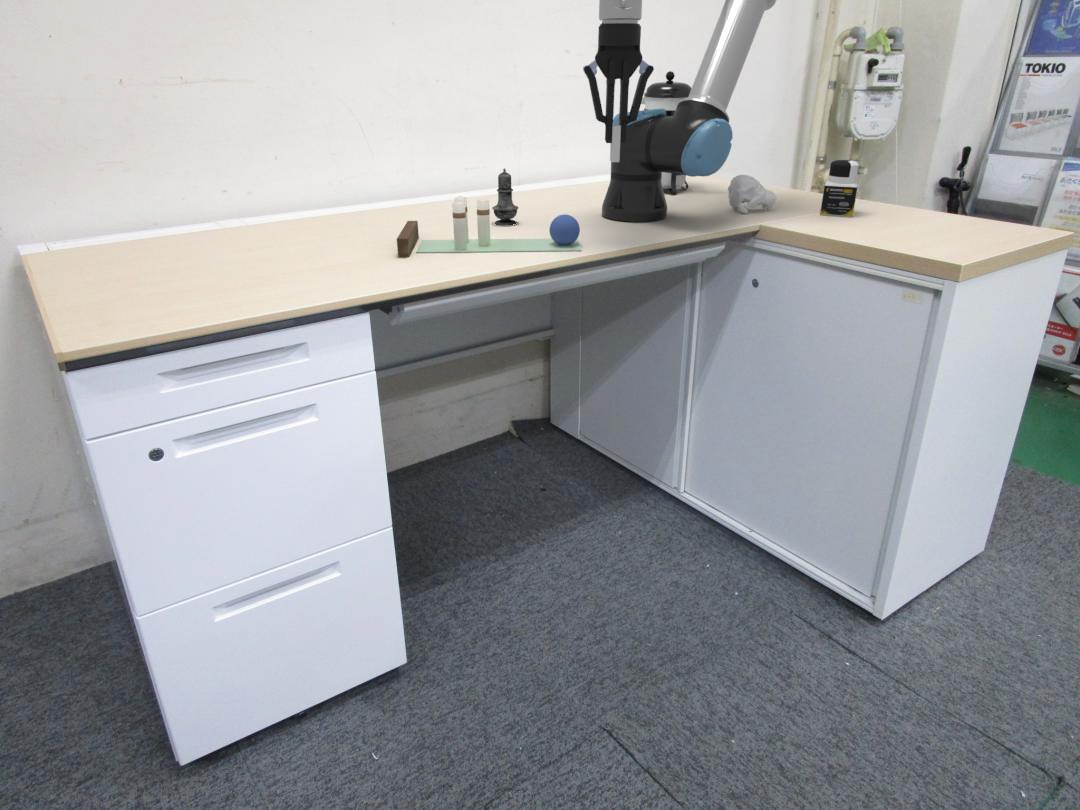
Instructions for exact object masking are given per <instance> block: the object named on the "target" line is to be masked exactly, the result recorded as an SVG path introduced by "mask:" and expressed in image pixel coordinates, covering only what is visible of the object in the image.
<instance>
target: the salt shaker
mask: <svg viewBox="0 0 1080 810" xmlns="http://www.w3.org/2000/svg"><path fill="white" fill-rule="evenodd" d="M502 171H503V172H501V173H499V174H498V176H497V180H498V183H497V185H498V189H496V191H497V193H498V194H497V195H498V199H497V204H496V205H494V206H492V208H491V209H492V211H493V214H494V216H495V217H496V218H497V219H498V220H496V221H495V224H496V225H495V226H497V225H513V224H516V223H517V224H518V221H516V220H514V218H515V217H516V216H517V214H518V210H519V206H518V205H516V204H514V201H513V191H514V189H513V188H512V175H511V174H510V173H508V172H507V170H506V168H503V169H502ZM517 224H516V225H517ZM513 226H514V225H513Z"/></svg>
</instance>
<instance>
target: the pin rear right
mask: <svg viewBox="0 0 1080 810" xmlns="http://www.w3.org/2000/svg"><path fill="white" fill-rule="evenodd" d="M467 199H468V198H467V197H466V196H456V197H455V196H454V202H465V212H466V237H467V243H468V242H469V239H470V238H469V227H468V226H469V225H468V224H469V222H468V201H467Z"/></svg>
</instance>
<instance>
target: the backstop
mask: <svg viewBox="0 0 1080 810" xmlns="http://www.w3.org/2000/svg"><path fill="white" fill-rule="evenodd" d="M419 235H420V234H419V223H418V220H407V221H406V223H405V225H404V227H402V230H401V231H400V232H399V235H398V236H397V237H396V245H397V257H398V258H409V257H410V255H411V254H412V251H414V250H413V249H414V248H415V246H416V244H417V242H418V241H419V238H420V237H419Z"/></svg>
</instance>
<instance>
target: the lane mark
mask: <svg viewBox="0 0 1080 810" xmlns="http://www.w3.org/2000/svg"><path fill="white" fill-rule="evenodd" d="M468 239H469V242H468V243H467V249H466V250H456V249H455V243H454V239H421V241H420V243H419V245H418V247H417V249H416V251H415V254H431V253H432V254H440V253H441V254H446V253H447V254H450V253H451V254H452V253H453V254H454V253H455V254H456V253H458V254H459V253H532V252H533V253H534V252H535V251H548V252H582V248H581V244H580V242H579V241H580V240H579V237H578V238H577V240H576V241H575V242H574V243H572V244H570V245H559V244H557V243H556V242H554V241H553V239H552V238H551V237H550V238H490V246H485V247H483V246H479V245H478V238H477V239H470V238H468Z"/></svg>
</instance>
